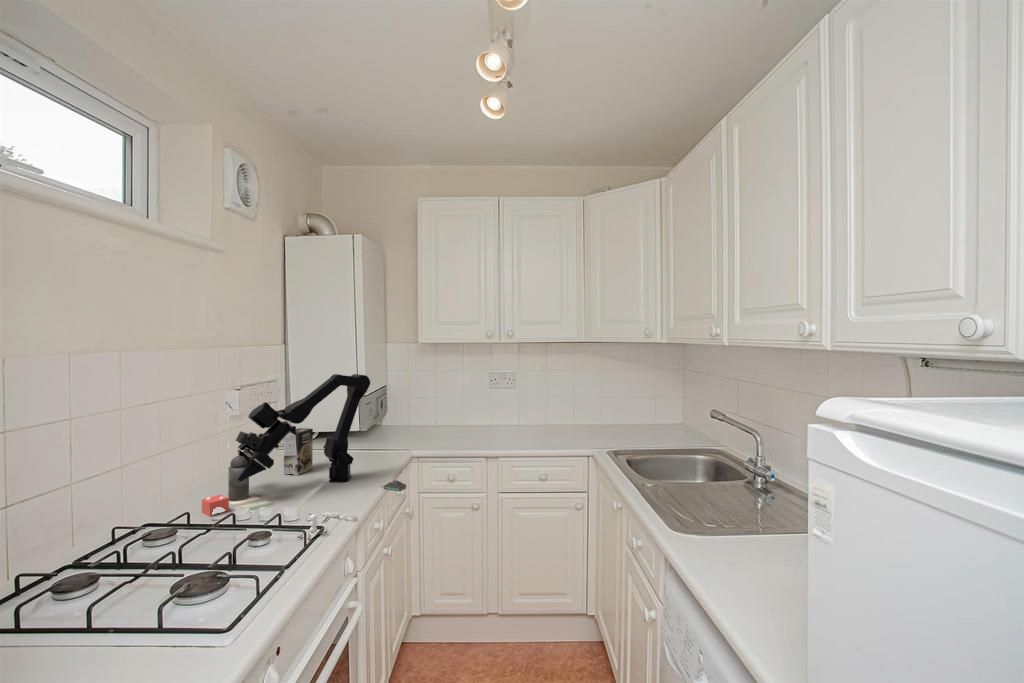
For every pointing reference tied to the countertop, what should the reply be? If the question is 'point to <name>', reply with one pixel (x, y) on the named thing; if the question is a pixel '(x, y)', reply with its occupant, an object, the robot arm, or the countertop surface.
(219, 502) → the red arch block
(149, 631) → the countertop surface
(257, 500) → the game track
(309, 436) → the coffee box
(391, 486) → the game pieces
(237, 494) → the pawn
